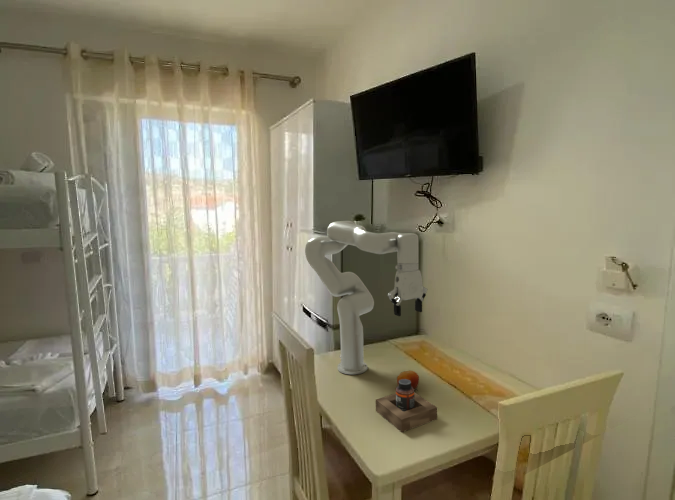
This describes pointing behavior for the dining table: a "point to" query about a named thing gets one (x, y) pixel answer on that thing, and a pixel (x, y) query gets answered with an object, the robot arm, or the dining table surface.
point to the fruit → (409, 378)
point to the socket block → (406, 412)
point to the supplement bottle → (405, 395)
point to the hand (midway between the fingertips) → (408, 313)
